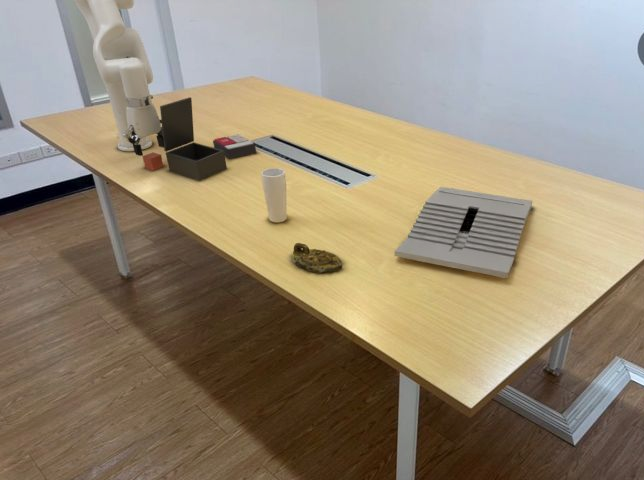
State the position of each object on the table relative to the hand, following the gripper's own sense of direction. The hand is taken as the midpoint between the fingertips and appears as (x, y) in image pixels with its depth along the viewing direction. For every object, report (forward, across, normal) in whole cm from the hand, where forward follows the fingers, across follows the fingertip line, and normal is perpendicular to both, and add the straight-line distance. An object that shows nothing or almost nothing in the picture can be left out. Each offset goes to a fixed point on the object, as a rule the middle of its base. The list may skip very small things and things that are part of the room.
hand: (151, 151), depth 194 cm
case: (+7, -7, +14) cm, 17 cm away
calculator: (+6, -28, +11) cm, 31 cm away
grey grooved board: (+9, -18, +114) cm, 116 cm away
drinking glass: (+8, +6, +63) cm, 64 cm away
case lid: (-9, -7, +9) cm, 14 cm away
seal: (+9, +19, +88) cm, 91 cm away
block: (+6, 0, -1) cm, 6 cm away
